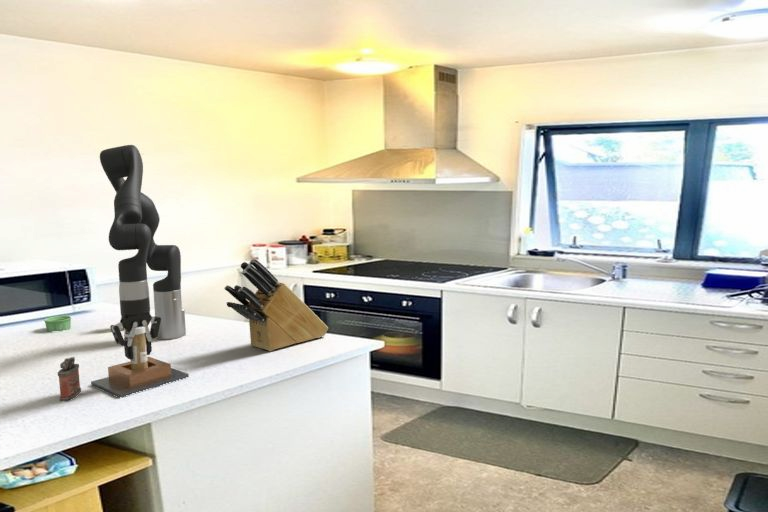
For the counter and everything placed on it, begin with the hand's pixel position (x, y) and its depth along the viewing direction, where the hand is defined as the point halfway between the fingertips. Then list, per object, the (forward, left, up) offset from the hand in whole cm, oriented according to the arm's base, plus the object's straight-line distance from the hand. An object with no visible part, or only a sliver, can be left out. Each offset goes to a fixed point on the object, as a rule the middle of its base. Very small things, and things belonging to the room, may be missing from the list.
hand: (138, 356), depth 161 cm
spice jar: (0, 0, -5) cm, 5 cm away
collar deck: (0, 0, -7) cm, 7 cm away
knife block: (-48, +3, -7) cm, 49 cm away
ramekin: (-11, -82, -7) cm, 83 cm away
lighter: (+17, -4, -7) cm, 19 cm away
